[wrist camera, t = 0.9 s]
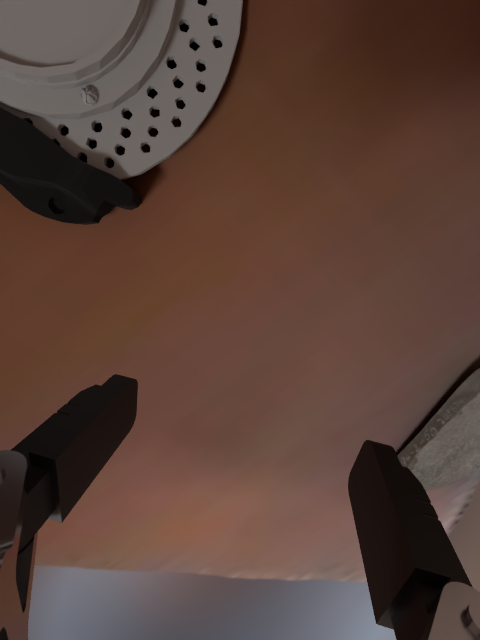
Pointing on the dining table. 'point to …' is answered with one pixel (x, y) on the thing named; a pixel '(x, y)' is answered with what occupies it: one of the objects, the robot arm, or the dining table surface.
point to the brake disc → (102, 94)
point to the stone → (448, 439)
